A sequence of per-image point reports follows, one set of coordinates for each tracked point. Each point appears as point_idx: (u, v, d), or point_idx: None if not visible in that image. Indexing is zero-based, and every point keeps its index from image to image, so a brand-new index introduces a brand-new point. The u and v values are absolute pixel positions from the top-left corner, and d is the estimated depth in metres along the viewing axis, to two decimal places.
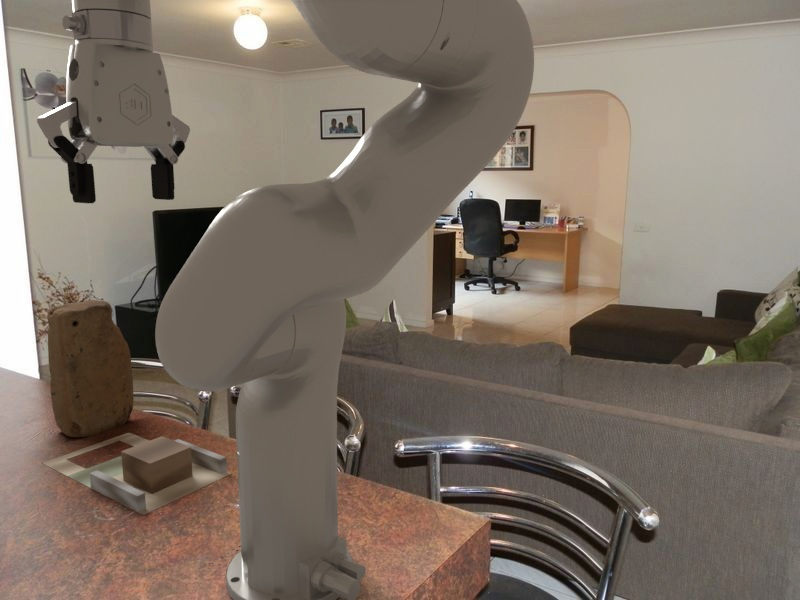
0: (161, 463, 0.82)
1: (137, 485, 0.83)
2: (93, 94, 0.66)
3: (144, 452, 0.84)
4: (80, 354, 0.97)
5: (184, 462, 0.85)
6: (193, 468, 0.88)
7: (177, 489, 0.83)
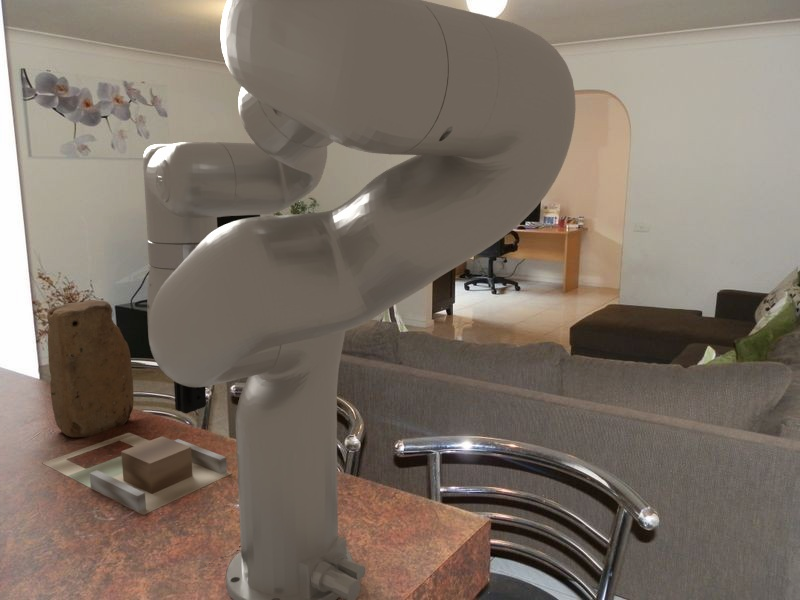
0: (161, 463, 0.82)
1: (137, 485, 0.83)
2: None
3: (144, 452, 0.84)
4: (80, 354, 0.97)
5: (184, 462, 0.85)
6: (193, 468, 0.88)
7: (177, 489, 0.83)
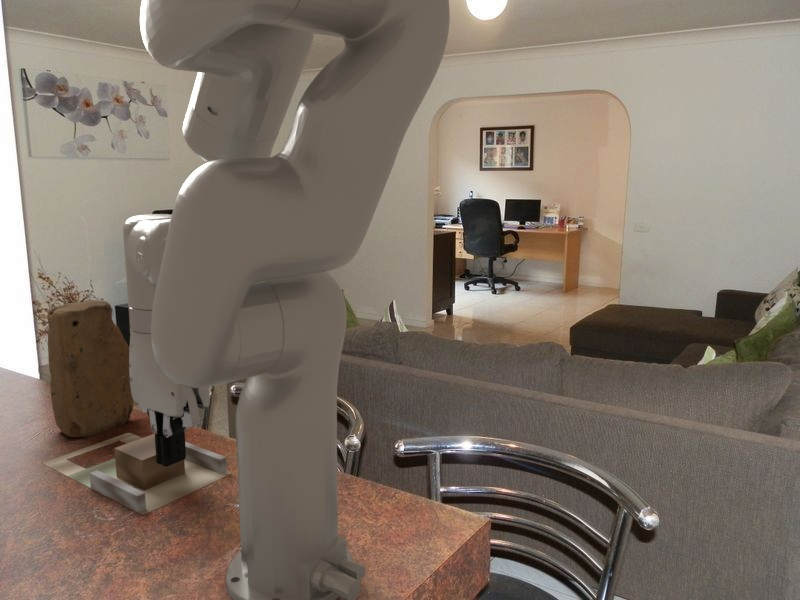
0: (153, 459, 0.83)
1: (130, 481, 0.84)
2: None
3: (137, 449, 0.85)
4: (80, 354, 0.97)
5: None
6: (193, 468, 0.88)
7: (177, 489, 0.83)
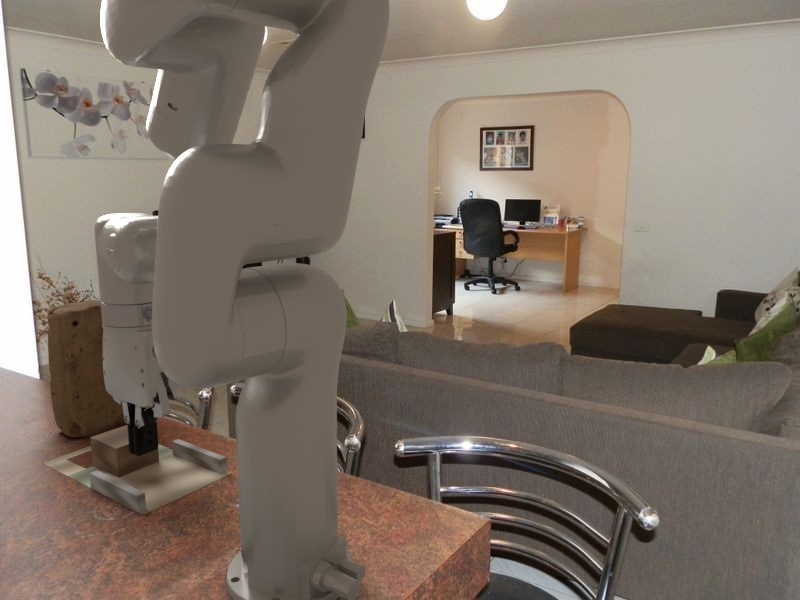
0: (127, 448, 0.86)
1: (105, 469, 0.87)
2: None
3: (112, 438, 0.88)
4: (80, 354, 0.97)
5: None
6: (193, 468, 0.88)
7: (177, 489, 0.83)
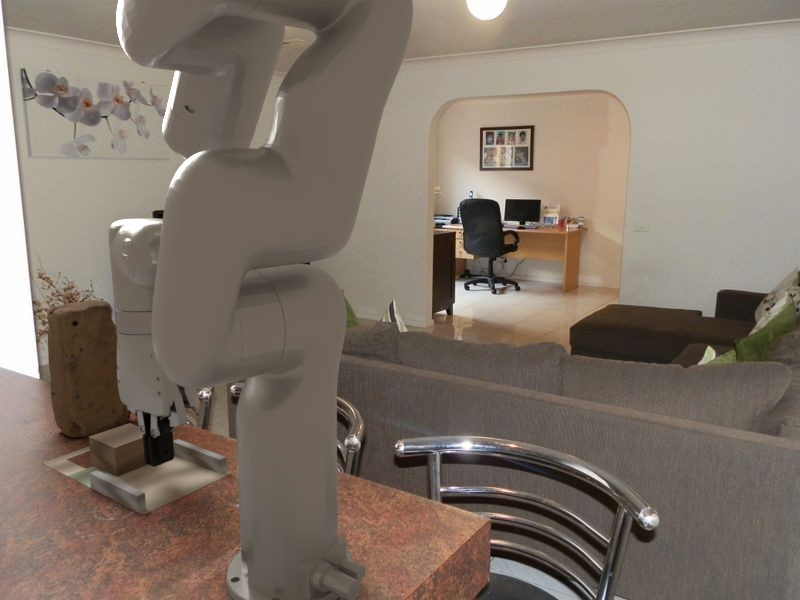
0: (126, 447, 0.86)
1: (104, 469, 0.87)
2: None
3: (111, 437, 0.88)
4: (80, 354, 0.97)
5: None
6: (193, 468, 0.88)
7: (177, 489, 0.83)
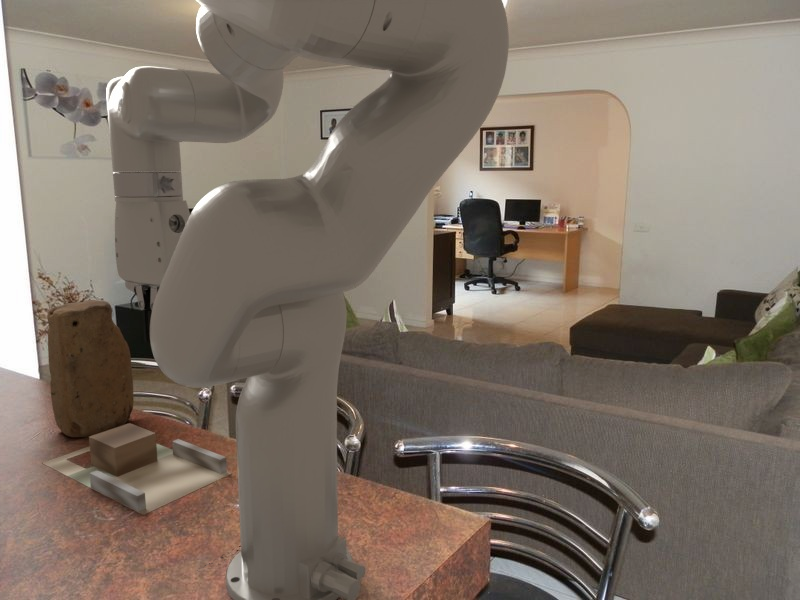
0: (126, 447, 0.86)
1: (104, 469, 0.87)
2: None
3: (111, 437, 0.88)
4: (80, 354, 0.97)
5: (149, 447, 0.89)
6: (193, 468, 0.88)
7: (177, 489, 0.83)
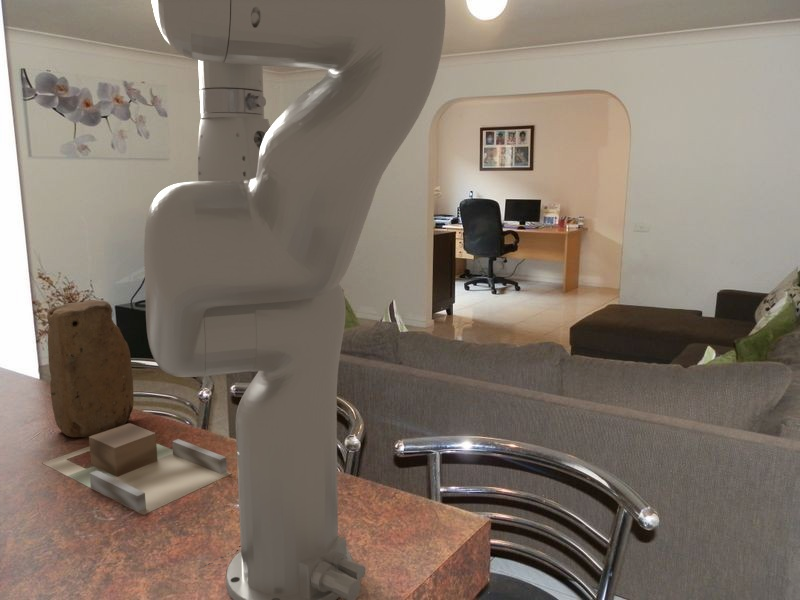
0: (126, 447, 0.86)
1: (104, 469, 0.87)
2: None
3: (111, 437, 0.88)
4: (80, 354, 0.97)
5: (149, 447, 0.89)
6: (193, 468, 0.88)
7: (177, 489, 0.83)
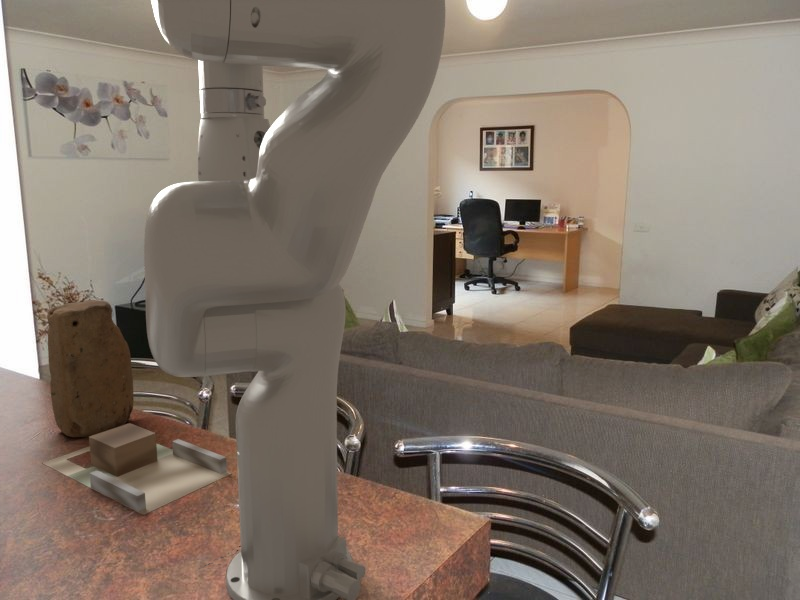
0: (126, 447, 0.86)
1: (104, 469, 0.87)
2: None
3: (111, 437, 0.88)
4: (80, 354, 0.97)
5: (149, 447, 0.89)
6: (193, 468, 0.88)
7: (177, 489, 0.83)
